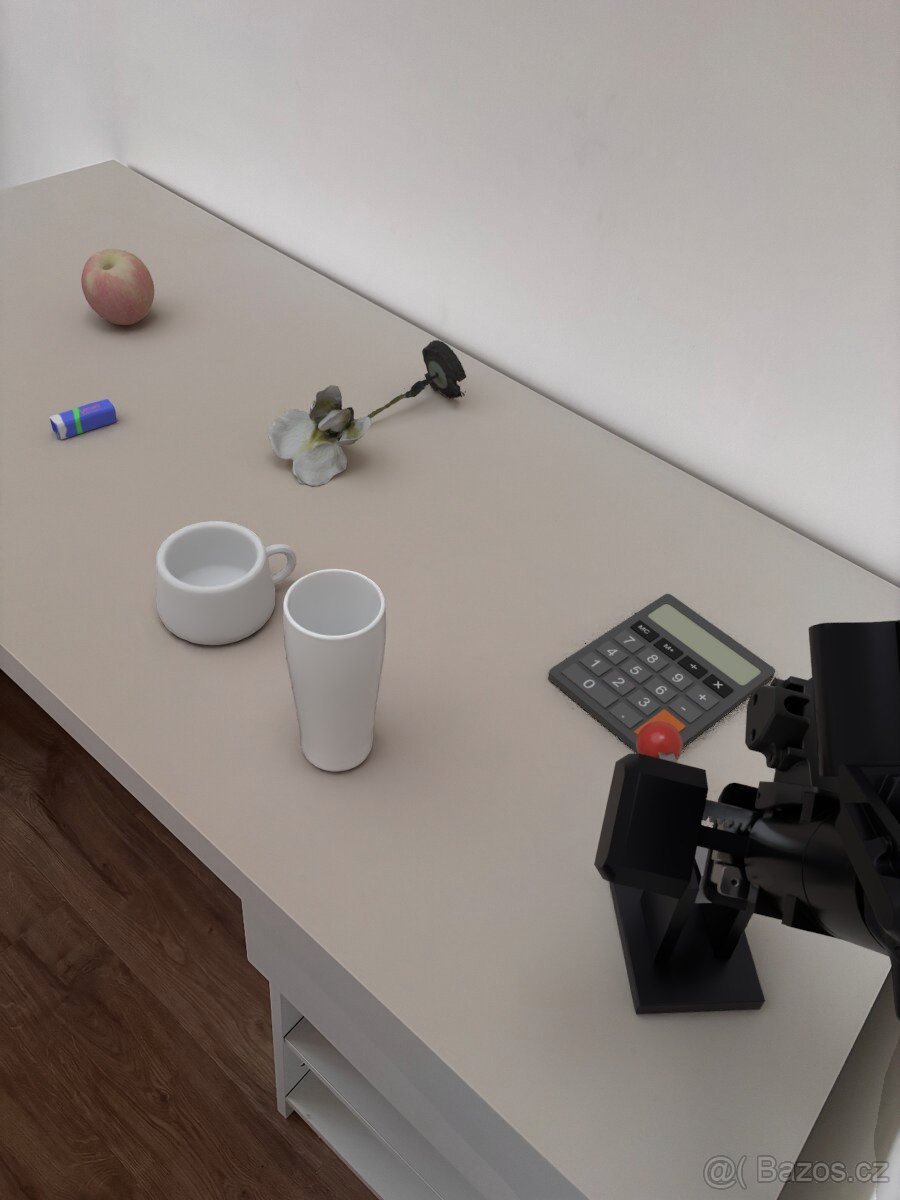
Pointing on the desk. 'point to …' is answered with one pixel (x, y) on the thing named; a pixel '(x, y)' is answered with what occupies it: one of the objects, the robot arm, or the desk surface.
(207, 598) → the mug
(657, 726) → the lever
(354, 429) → the artificial flower
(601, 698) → the calculator
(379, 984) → the desk surface
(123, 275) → the apple
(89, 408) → the eraser
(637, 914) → the switch bracket
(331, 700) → the drinking glass
